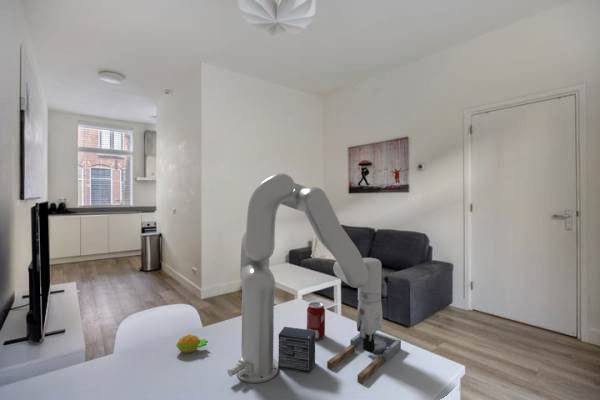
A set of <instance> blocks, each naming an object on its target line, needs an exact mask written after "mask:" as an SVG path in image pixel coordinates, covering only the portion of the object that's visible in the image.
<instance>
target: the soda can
mask: <svg viewBox="0 0 600 400" xmlns="http://www.w3.org/2000/svg"><path fill="white" fill-rule="evenodd" d="M306 329H307V330H314V331H315V341H316V340H322V339H323V338H324V337H325V336H326V335H325V334H326V331H325V330H326V309H325V307H324V304H323V302H317V301H313V302H310V303H308V306H307V309H306Z"/></svg>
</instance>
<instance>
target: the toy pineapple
mask: <svg viewBox="0 0 600 400" xmlns="http://www.w3.org/2000/svg"><path fill="white" fill-rule="evenodd" d="M207 343H209V341H208V340H206V338H203V339H200V338H199V337H198V335H194V334H185V335H183V336H182V337H180V338H179V340H178V341H177V342H176V343H175V345H176V346H175V347H176V348H177V349H178V350H179V351H180V352H182V353H186V354H188V353H192V352H195V351H196V350H198V348H203V347H206V346H207V345H208V344H207Z"/></svg>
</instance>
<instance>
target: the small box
mask: <svg viewBox="0 0 600 400" xmlns="http://www.w3.org/2000/svg"><path fill="white" fill-rule="evenodd" d="M315 365H316V340H315V331H314V330H307V328H306V329H305V328H298V327H290V326H283V328H282V330H281V331H280V332H279V333H278V369H284V370H287V371H288V370H289V371H295V372H301V373H307V374H311V373H312V371H313V369H314V367H315Z"/></svg>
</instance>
